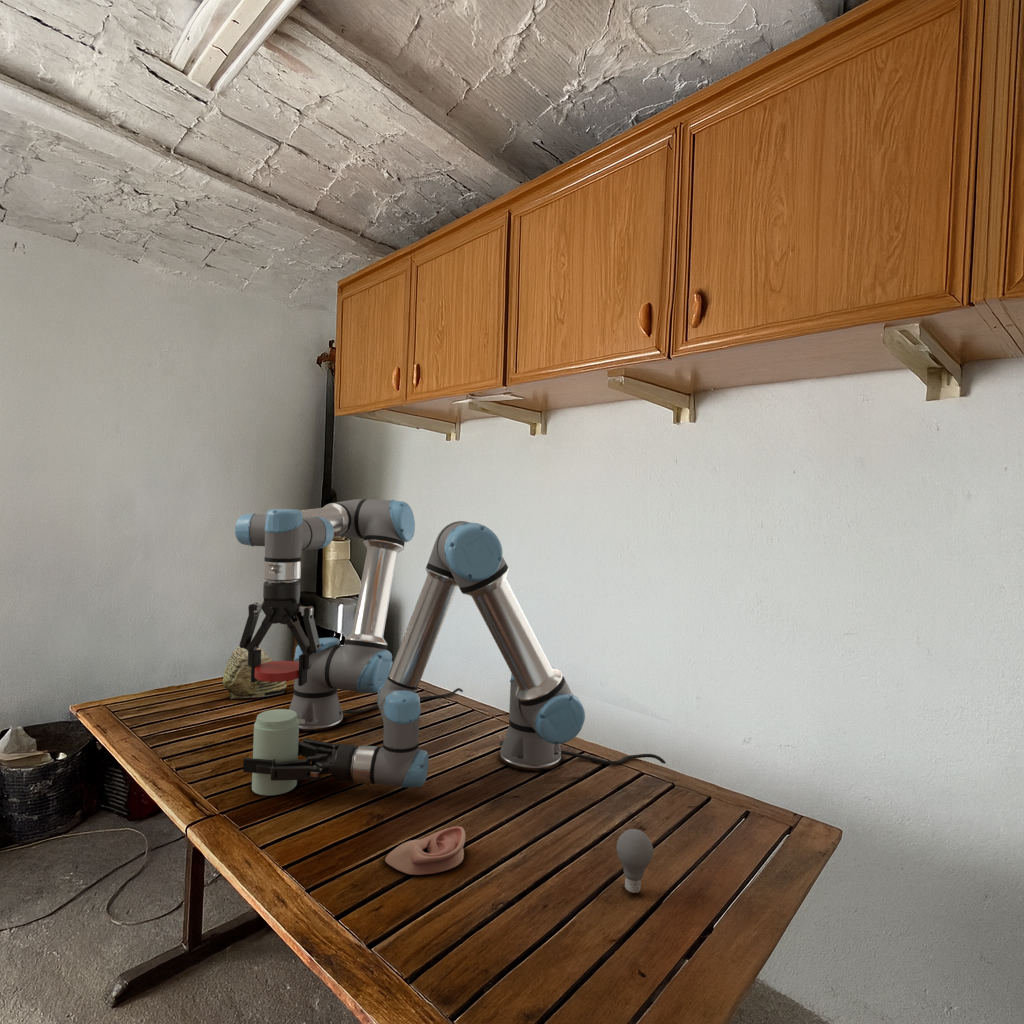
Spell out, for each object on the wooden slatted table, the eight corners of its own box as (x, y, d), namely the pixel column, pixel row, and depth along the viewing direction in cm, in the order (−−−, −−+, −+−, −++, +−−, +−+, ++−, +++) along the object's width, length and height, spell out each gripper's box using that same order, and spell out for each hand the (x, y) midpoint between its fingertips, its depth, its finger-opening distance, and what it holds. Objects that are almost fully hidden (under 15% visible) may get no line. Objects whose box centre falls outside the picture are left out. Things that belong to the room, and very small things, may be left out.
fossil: (218, 695, 195) (220, 647, 195) (278, 685, 208) (279, 640, 207) (228, 703, 189) (230, 653, 188) (289, 692, 201) (290, 645, 201)
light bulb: (610, 879, 108) (613, 822, 108) (644, 879, 109) (647, 822, 109) (619, 902, 102) (622, 840, 102) (655, 901, 103) (658, 840, 103)
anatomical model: (378, 846, 108) (403, 814, 120) (377, 869, 108) (402, 835, 120) (453, 858, 106) (471, 824, 117) (452, 882, 106) (470, 846, 117)
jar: (303, 778, 142) (306, 709, 142) (285, 797, 133) (288, 724, 133) (264, 774, 143) (266, 706, 143) (243, 793, 134) (246, 720, 133)
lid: (244, 676, 136) (244, 668, 136) (281, 666, 144) (281, 658, 144) (276, 685, 131) (277, 676, 131) (313, 673, 140) (313, 665, 140)
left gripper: (223, 579, 134) (220, 683, 135) (325, 585, 132) (322, 691, 133) (241, 575, 142) (238, 673, 143) (338, 580, 140) (335, 680, 140)
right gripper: (336, 805, 125) (228, 795, 127) (371, 760, 147) (278, 752, 149) (338, 767, 125) (229, 758, 127) (372, 728, 147) (279, 721, 149)
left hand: (279, 682), depth 138 cm, fingers closed on lid, 10 cm apart
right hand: (255, 755), depth 138 cm, fingers closed on jar, 9 cm apart
